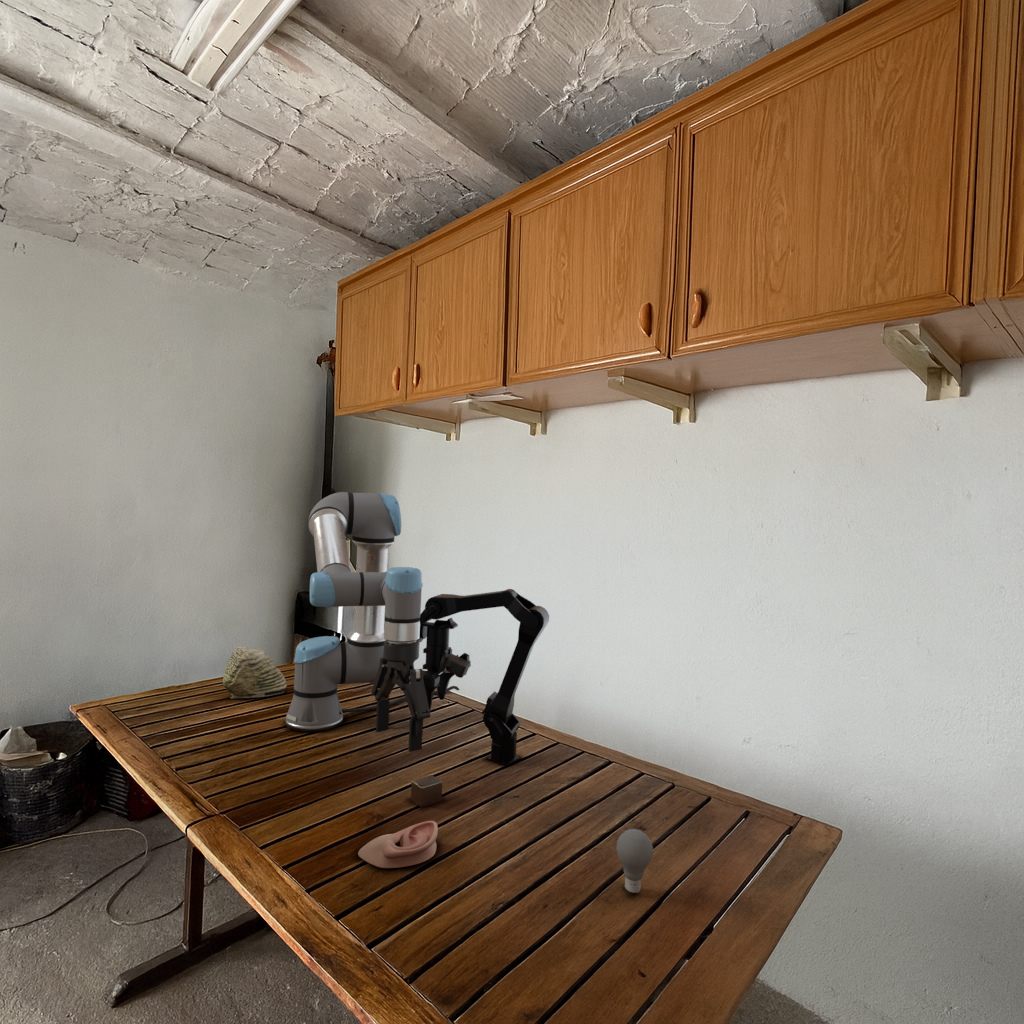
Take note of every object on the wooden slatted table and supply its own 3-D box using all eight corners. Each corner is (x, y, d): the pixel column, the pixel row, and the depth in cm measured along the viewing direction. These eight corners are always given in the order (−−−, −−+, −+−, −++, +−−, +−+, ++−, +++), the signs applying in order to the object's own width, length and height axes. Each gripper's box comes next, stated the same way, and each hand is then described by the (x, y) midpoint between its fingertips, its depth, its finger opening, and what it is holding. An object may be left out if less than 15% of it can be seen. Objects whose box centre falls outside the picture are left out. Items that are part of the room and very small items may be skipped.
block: (421, 807, 131) (422, 788, 131) (410, 800, 134) (411, 780, 134) (441, 800, 134) (442, 781, 134) (430, 793, 137) (431, 774, 137)
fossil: (218, 695, 195) (220, 647, 195) (278, 685, 208) (279, 640, 207) (228, 703, 189) (230, 653, 188) (289, 692, 201) (290, 645, 201)
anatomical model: (350, 840, 110) (378, 809, 121) (349, 863, 110) (377, 829, 121) (423, 852, 107) (444, 819, 118) (422, 875, 107) (443, 840, 118)
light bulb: (610, 879, 108) (613, 822, 108) (644, 879, 109) (647, 822, 109) (619, 902, 102) (622, 840, 102) (655, 901, 103) (658, 840, 103)
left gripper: (450, 649, 128) (445, 754, 128) (388, 628, 147) (384, 720, 147) (418, 654, 123) (414, 763, 123) (358, 632, 142) (354, 726, 142)
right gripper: (454, 655, 151) (451, 720, 151) (478, 640, 169) (476, 698, 169) (411, 650, 154) (408, 714, 154) (439, 635, 172) (437, 693, 172)
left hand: (398, 740), depth 135 cm, fingers open, 13 cm apart
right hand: (435, 704), depth 162 cm, fingers open, 9 cm apart
